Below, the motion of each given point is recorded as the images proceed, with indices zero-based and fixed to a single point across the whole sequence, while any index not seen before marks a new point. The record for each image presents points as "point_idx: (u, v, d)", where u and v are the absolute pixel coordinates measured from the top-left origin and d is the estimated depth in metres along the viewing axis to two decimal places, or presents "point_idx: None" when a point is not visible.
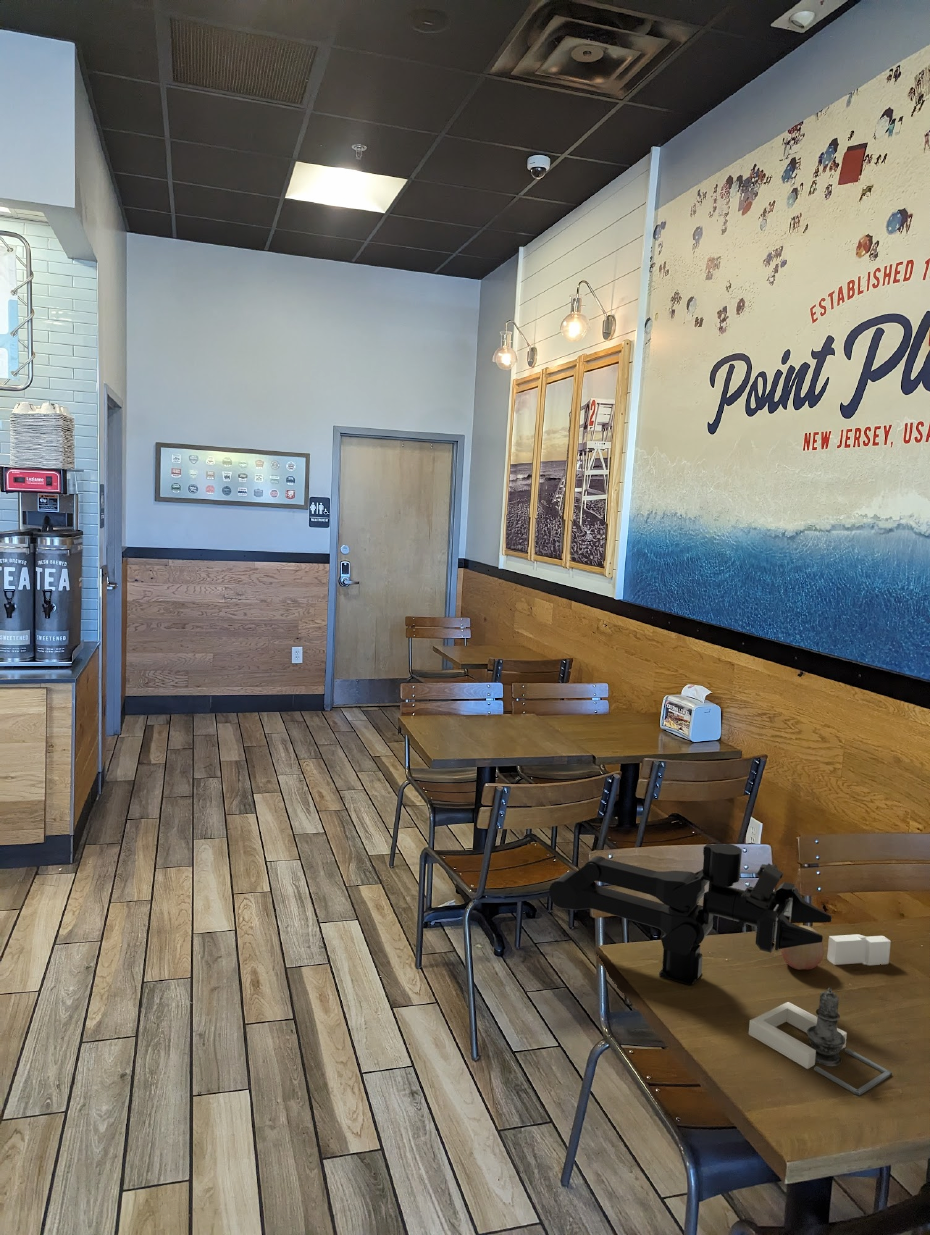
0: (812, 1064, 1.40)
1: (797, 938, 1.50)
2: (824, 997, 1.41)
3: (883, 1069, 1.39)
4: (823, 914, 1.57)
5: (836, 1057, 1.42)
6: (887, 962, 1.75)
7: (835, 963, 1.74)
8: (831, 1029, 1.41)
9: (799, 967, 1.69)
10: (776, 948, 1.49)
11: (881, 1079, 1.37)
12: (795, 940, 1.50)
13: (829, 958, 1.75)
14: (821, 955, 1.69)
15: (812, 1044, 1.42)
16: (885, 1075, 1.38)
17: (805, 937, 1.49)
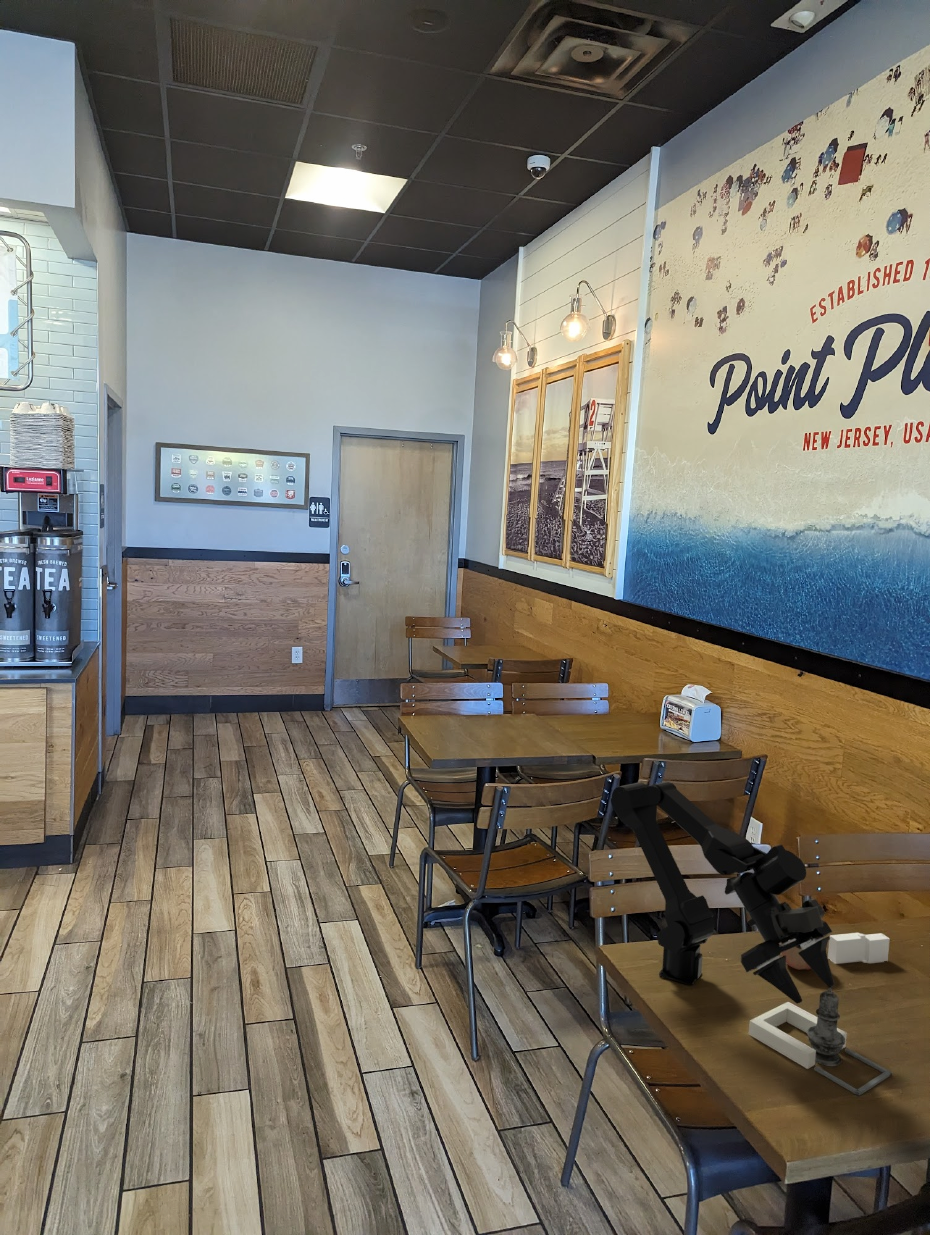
0: (812, 1064, 1.40)
1: (779, 982, 1.43)
2: (824, 997, 1.41)
3: (883, 1069, 1.39)
4: (828, 977, 1.47)
5: (836, 1057, 1.42)
6: (886, 959, 1.76)
7: (836, 962, 1.74)
8: (831, 1029, 1.41)
9: (799, 967, 1.69)
10: (754, 973, 1.44)
11: (881, 1079, 1.37)
12: (776, 982, 1.43)
13: (830, 957, 1.75)
14: None
15: (812, 1044, 1.42)
16: (885, 1075, 1.38)
17: (786, 988, 1.42)
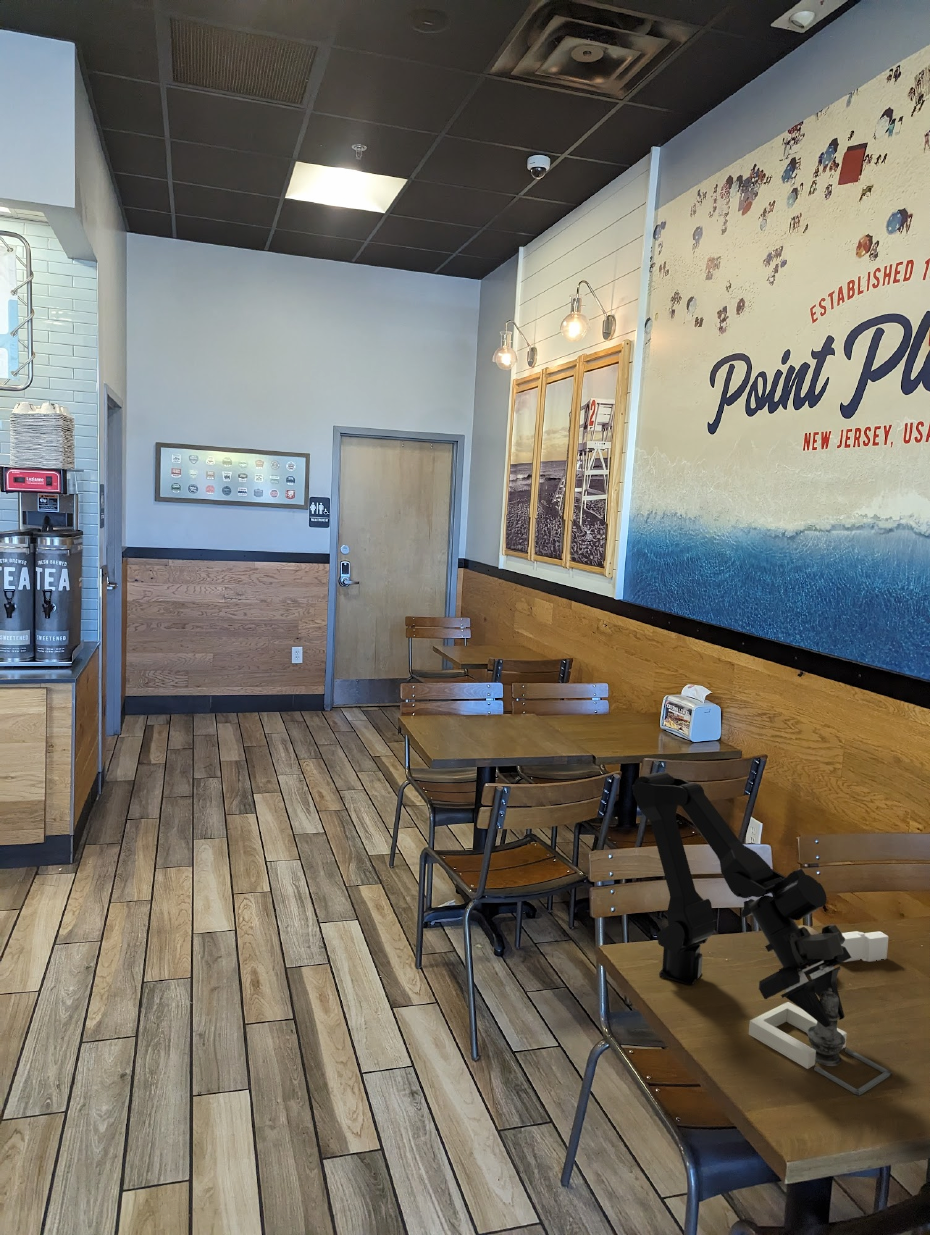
0: (812, 1064, 1.40)
1: (808, 1005, 1.41)
2: (824, 997, 1.41)
3: (883, 1069, 1.39)
4: (839, 1009, 1.42)
5: (836, 1057, 1.42)
6: (885, 957, 1.76)
7: None
8: (831, 1029, 1.41)
9: None
10: (782, 996, 1.43)
11: (881, 1079, 1.37)
12: (804, 1005, 1.42)
13: None
14: None
15: (812, 1044, 1.42)
16: (885, 1075, 1.38)
17: (815, 1012, 1.41)
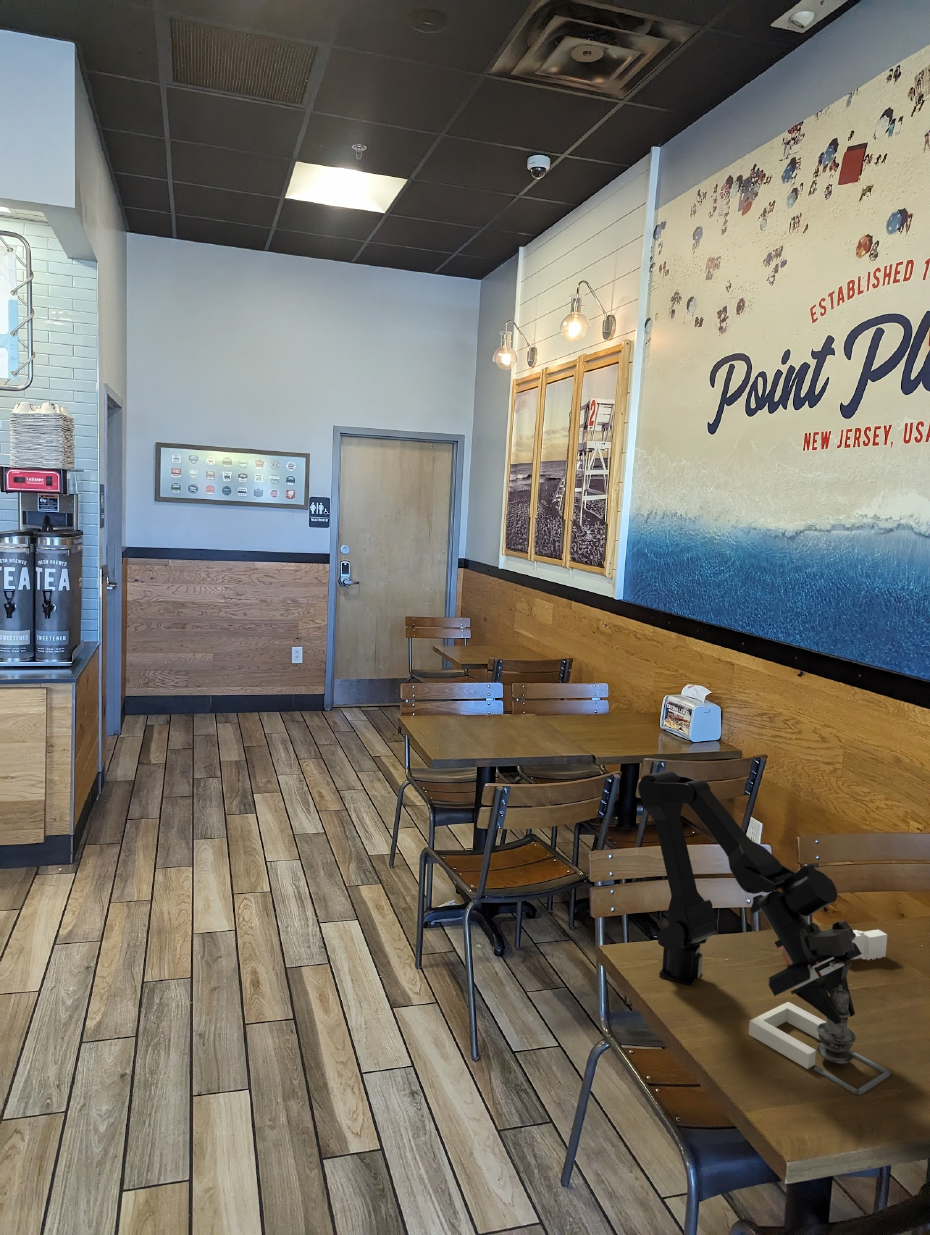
0: (812, 1064, 1.40)
1: (818, 1002, 1.40)
2: (834, 994, 1.40)
3: (883, 1069, 1.39)
4: (849, 1006, 1.41)
5: (846, 1054, 1.40)
6: (884, 955, 1.77)
7: None
8: (841, 1026, 1.39)
9: None
10: (792, 992, 1.41)
11: (881, 1079, 1.37)
12: (815, 1002, 1.40)
13: None
14: None
15: (822, 1041, 1.40)
16: (885, 1075, 1.38)
17: (825, 1009, 1.39)
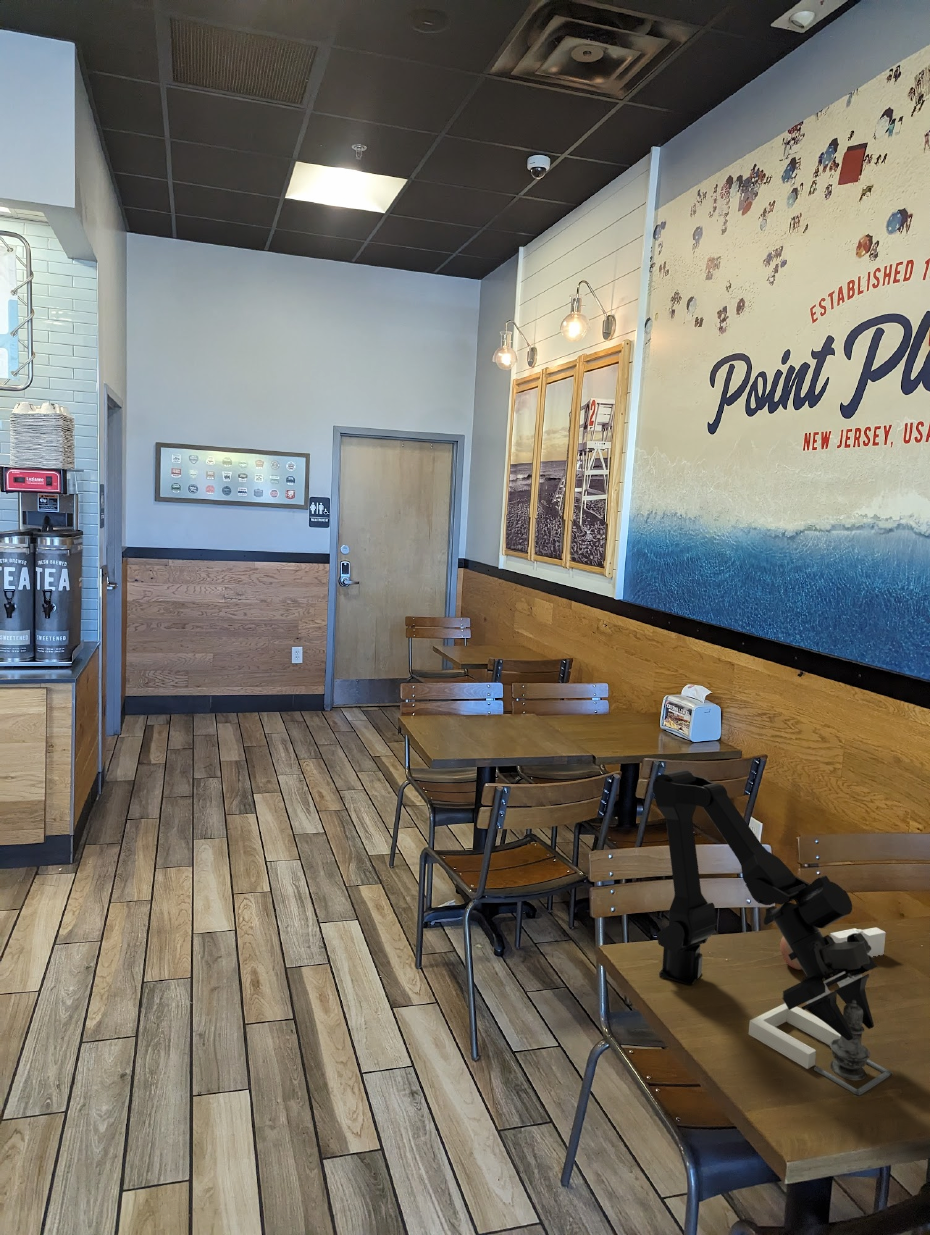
0: (812, 1064, 1.40)
1: (829, 1018, 1.37)
2: (848, 1009, 1.38)
3: (883, 1069, 1.39)
4: (868, 1018, 1.39)
5: (860, 1071, 1.38)
6: (882, 953, 1.78)
7: None
8: (855, 1043, 1.37)
9: (799, 967, 1.69)
10: (803, 1008, 1.39)
11: (881, 1079, 1.37)
12: (826, 1017, 1.38)
13: None
14: None
15: (836, 1058, 1.39)
16: (885, 1075, 1.38)
17: (837, 1025, 1.36)
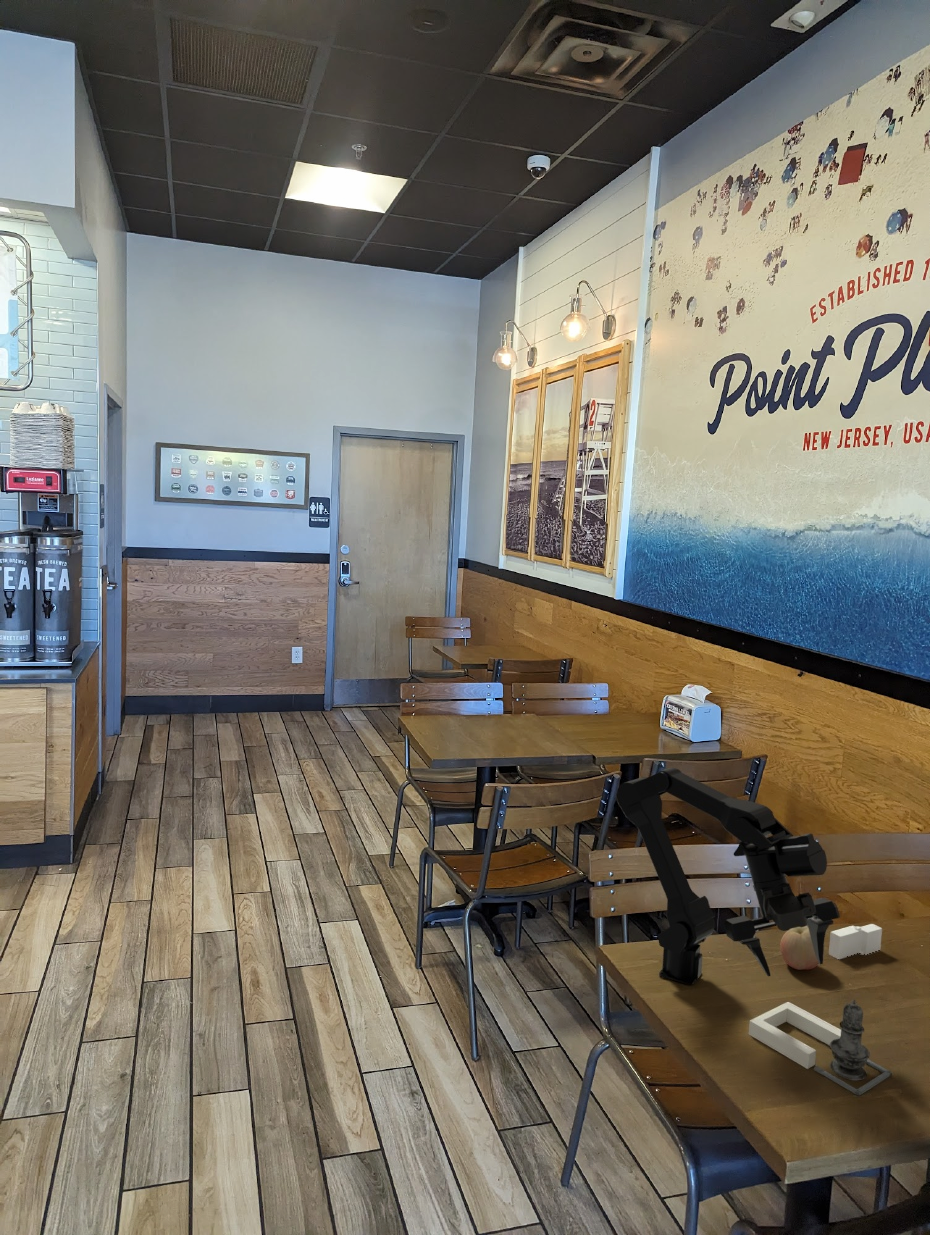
0: (812, 1064, 1.40)
1: (755, 953, 1.51)
2: (848, 1009, 1.38)
3: (883, 1069, 1.39)
4: (818, 956, 1.50)
5: (860, 1071, 1.38)
6: (879, 949, 1.80)
7: (839, 958, 1.76)
8: (855, 1043, 1.37)
9: (799, 967, 1.69)
10: None
11: (881, 1079, 1.37)
12: (753, 952, 1.52)
13: (832, 953, 1.77)
14: None
15: (836, 1058, 1.39)
16: (885, 1075, 1.38)
17: (759, 961, 1.50)
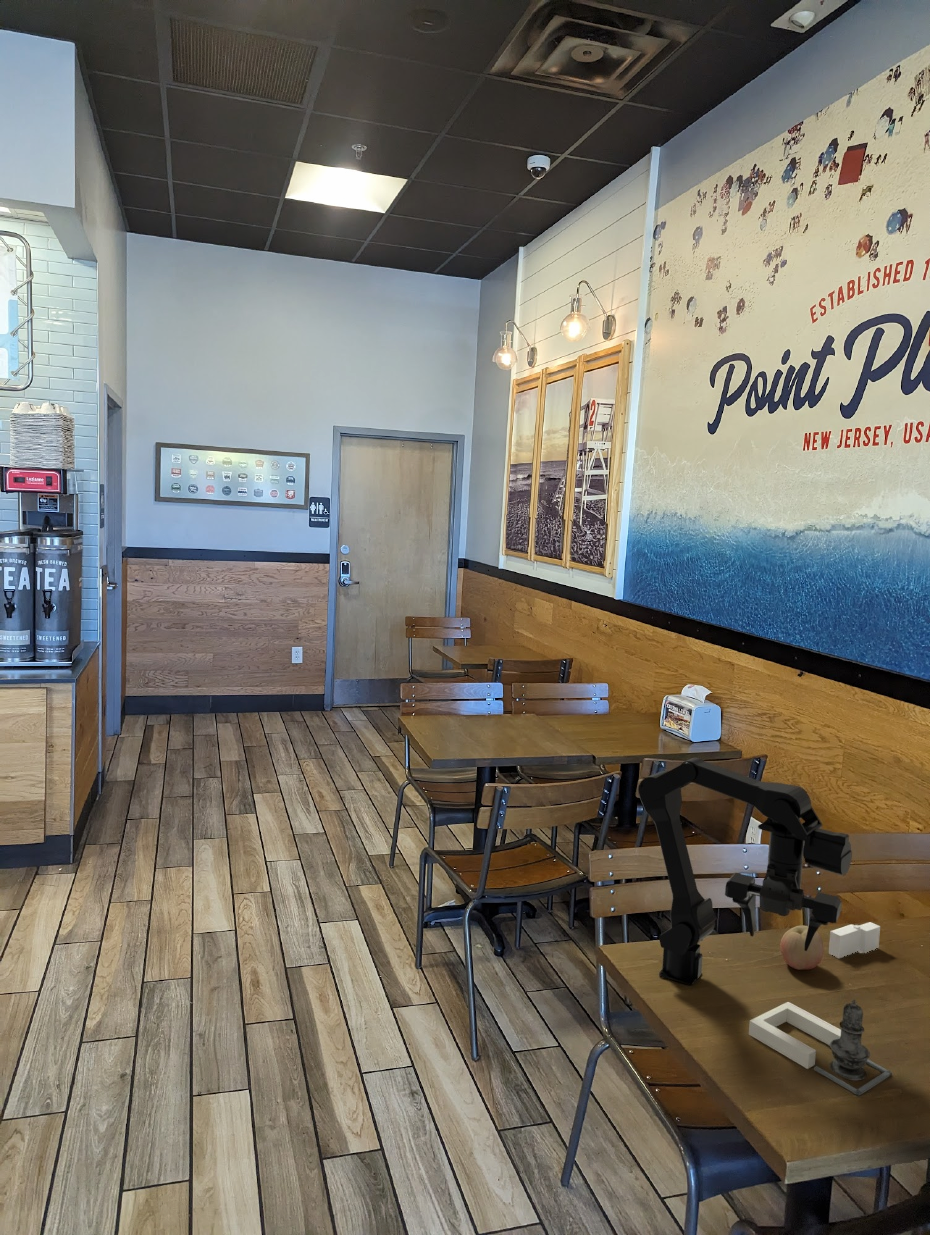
0: (812, 1064, 1.40)
1: None
2: (848, 1009, 1.38)
3: (883, 1069, 1.39)
4: (805, 943, 1.51)
5: (860, 1071, 1.38)
6: (877, 947, 1.81)
7: (839, 957, 1.76)
8: (855, 1043, 1.37)
9: (799, 967, 1.69)
10: None
11: (881, 1079, 1.37)
12: None
13: (832, 953, 1.77)
14: (821, 955, 1.69)
15: (836, 1058, 1.39)
16: (885, 1075, 1.38)
17: None
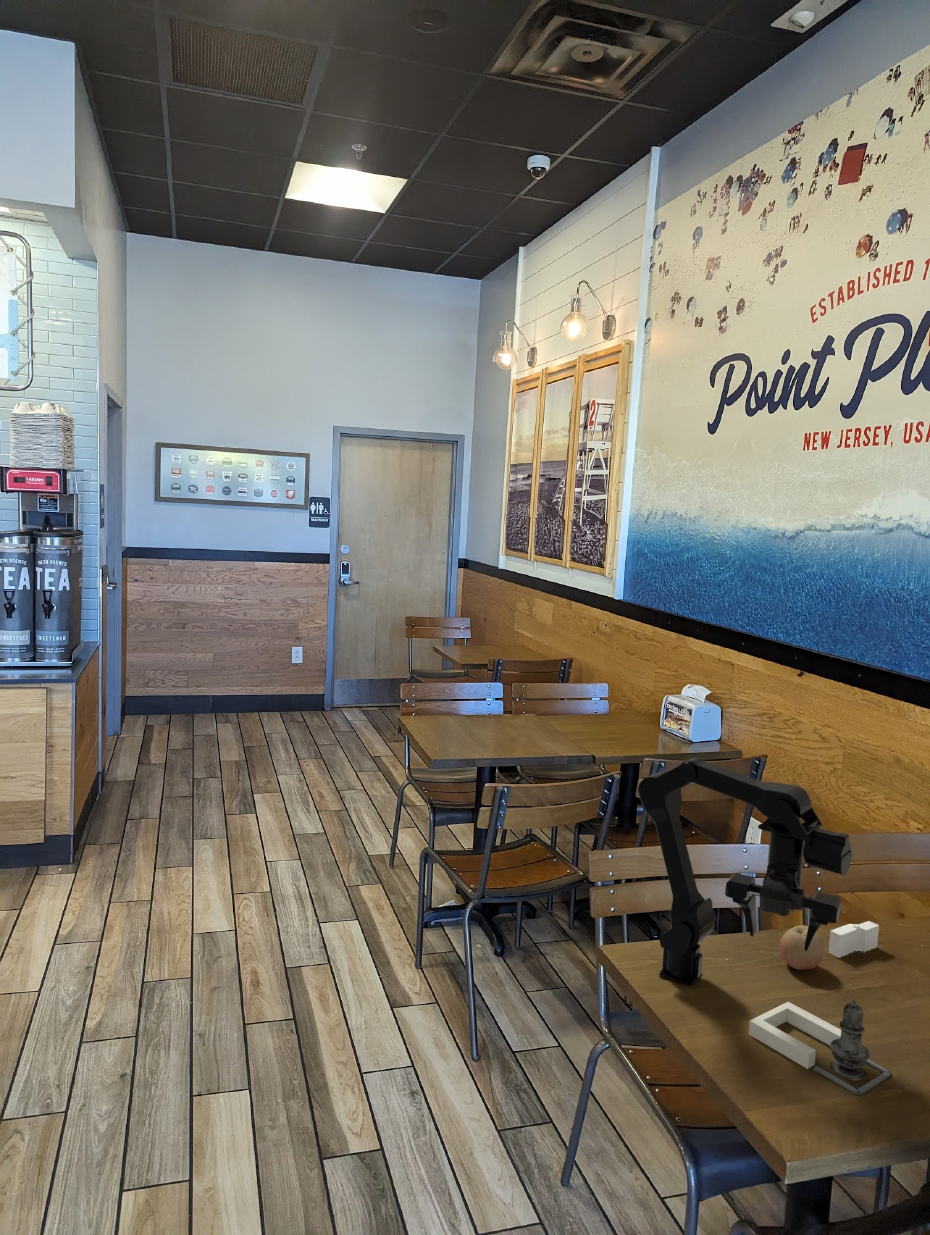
0: (812, 1064, 1.40)
1: None
2: (848, 1009, 1.38)
3: (883, 1069, 1.39)
4: (805, 943, 1.51)
5: (860, 1071, 1.38)
6: (876, 946, 1.81)
7: (839, 956, 1.76)
8: (855, 1043, 1.37)
9: (799, 967, 1.69)
10: None
11: (881, 1079, 1.37)
12: None
13: (832, 952, 1.78)
14: (821, 955, 1.69)
15: (836, 1058, 1.39)
16: (885, 1075, 1.38)
17: None
